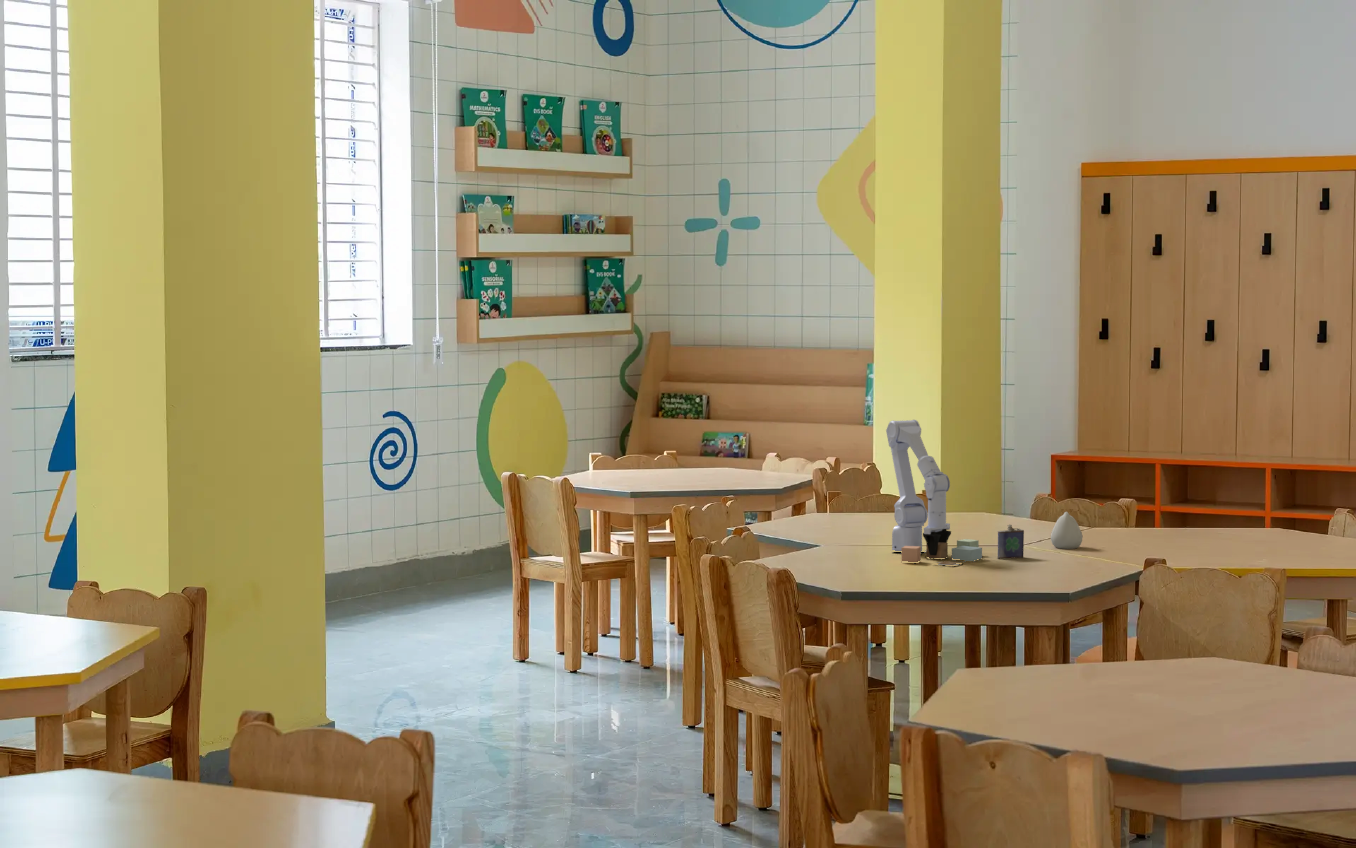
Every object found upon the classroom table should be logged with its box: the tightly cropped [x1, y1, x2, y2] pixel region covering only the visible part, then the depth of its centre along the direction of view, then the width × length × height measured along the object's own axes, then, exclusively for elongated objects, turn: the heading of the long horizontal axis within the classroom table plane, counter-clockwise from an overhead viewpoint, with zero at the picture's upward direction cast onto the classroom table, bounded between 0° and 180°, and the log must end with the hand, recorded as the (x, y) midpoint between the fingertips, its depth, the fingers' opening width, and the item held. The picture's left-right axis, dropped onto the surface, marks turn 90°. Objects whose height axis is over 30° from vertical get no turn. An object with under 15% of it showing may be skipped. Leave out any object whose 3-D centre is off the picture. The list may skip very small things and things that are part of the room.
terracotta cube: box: [901, 546, 922, 562], centre depth 459 cm, size 5×5×5 cm
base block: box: [951, 546, 983, 562], centre depth 464 cm, size 7×7×4 cm
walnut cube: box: [925, 542, 949, 558], centre depth 467 cm, size 5×5×5 cm
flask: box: [997, 524, 1025, 559], centre depth 466 cm, size 9×3×11 cm, turn 109°
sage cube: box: [956, 538, 980, 548], centre depth 473 cm, size 5×5×5 cm
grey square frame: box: [938, 560, 960, 566], centre depth 453 cm, size 7×7×1 cm
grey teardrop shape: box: [1050, 511, 1084, 550], centre depth 488 cm, size 10×10×12 cm
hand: (937, 554), depth 467 cm, fingers closed on walnut cube, 5 cm apart
